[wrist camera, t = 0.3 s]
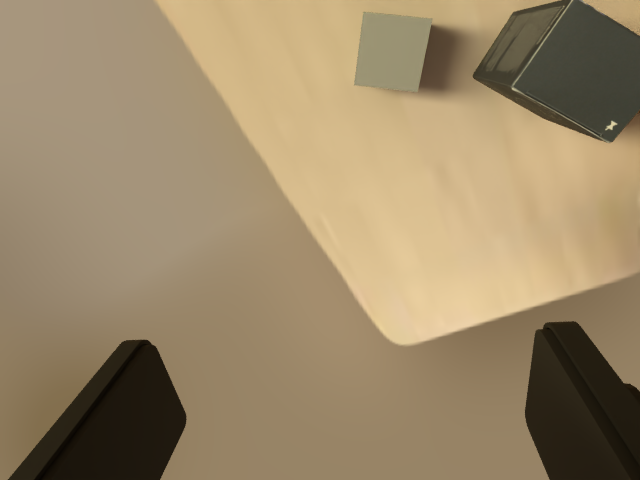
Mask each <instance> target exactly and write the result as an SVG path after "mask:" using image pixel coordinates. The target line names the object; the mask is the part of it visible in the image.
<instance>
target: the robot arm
mask: <svg viewBox="0 0 640 480" xmlns="http://www.w3.org/2000/svg"><path fill="white" fill-rule="evenodd" d="M525 418H526V423H527V426H528V429H529V432H530V434H531V436H532V439H533V441H534V443H535V446H536V448H537V450H538V453H539V455H540V458H541V460H542V462H543V465H544V467H545V470H546V472H547V474H548V477H549V479H550V480H640V391H639V390H638V389H637V388H636V387H634V386H632V385H631V384H625V383H623V382H622V381H621V379H620V378H619V377H618V375H617V374H616V373H615V371H614V370H613V369H612V367H611V366H610V365H609V363H608V362H607V361H606V359H605V358H604V357H603V355H602V354H601V353H600V351H599V350H598V349H597V347H596V346H595V345H594V343H593V342H592V341H591V340H590V338H589V337H588V336H587V334H586V333H585V332H584V330H583V329H582V328H581V326H579V324H578V323H576V322H574V321H572V322H549V323H545V325H544V327H543V329H541V330H537V331H536V333H535V338H534V346H533V354H532V362H531V370H530V377H529V384H528V392H527V400H526V407H525ZM185 424H186V413H185V411H184V408H183V406H182V404H181V402H180V399H179V397H178V395H177V393H176V390H175V388H174V386H173V384H172V381H171V379H170V377H169V375H168V372H167V370H166V368H165V366H164V364H163V361H162V359H161V357H160V354H159V352H158V350H157V348H156V347H155V346H154V345H152V344H151V343H150V342H149V341H148V340H126V341H124V342H122V343H121V344H120V345H119V346H118V347H117V349H116V350H115V351H114V352H113V353H112V355H111V356H110V357H109V358H108V359H107V361H106V362H105V363H104V365H102V367H101V368H100V369H99V370H98V372H97V373H96V374H95V375H94V376H93V378H92V379H91V380H90V381H89V383H88V384H87V385H86V386H85V387H84V388H83V390H82V391H81V392H80V393H79V394H78V396H77V397H76V398H75V399H74V401H73V402H72V403H71V404H70V405H69V407H68V408H67V409H66V410H65V412H64V413H63V414H62V415H61V416H60V417H59V419H58V420H57V421H56V422H55V424H54V425H53V426H52V427H51V428H50V430H49V431H48V432H47V433H46V434H45V436H44V437H43V438H42V439H41V440H40V442H39V443H38V444H37V445H36V447H35V448H34V449H33V450H32V451H31V453H30V454H29V455H28V456H27V458H26V459H25V460H24V461H23V462H22V463H21V465H20V466H19V467H18V468H17V470H16V471H15V472H14V473H13V474H12V476H11V477H10V478H9V479H8V480H160V478H161V476H162V474H163V472H164V470H165V468H166V466H167V464H168V461H169V460H170V457H171V455H172V453H173V451H174V449H175V447H176V445H177V443H178V441H179V439H180V436H181V434H182V432H183V430H184V428H185Z"/></svg>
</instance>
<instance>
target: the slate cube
mask: <svg viewBox="0 0 640 480" xmlns="http://www.w3.org/2000/svg"><path fill="white" fill-rule="evenodd" d="M431 23H432V19H431V18H421V17H411V16H401V15H391V14H381V13H371V12H363V19H362V27H361V35H360V43H359V51H358V59H357V67H356V75H355V83H354V85H356V86H365V87H374V88H383V89H392V90H401V91H410V92H418V88H419V83H420V78H421V73H422V68H423V63H424V58H425V53H426V48H427V43H428V38H429V33H430V28H431Z"/></svg>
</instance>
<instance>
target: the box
mask: <svg viewBox="0 0 640 480" xmlns="http://www.w3.org/2000/svg"><path fill="white" fill-rule="evenodd" d="M473 78H474V79H476V80H477V81H479V82H481V83H482V84H484V85H486V86H487V87H489V88H491V89H493V90H494V91H496V92H498V93H500V94H501V95H503V96H505V97H507V98H508V99H510V100H512V101H514V102H515V103H517V104H519V105H521V106H522V107H524V108H526V109H528V110H529V111H531V112H533V113H535V114H536V115H538V116H540V117H542V118H544V119H546V120H548V121H551V122H554V123H556V124H559V125H562V126H564V127H567V128H569V129H572V130H575V131H577V132H580V133H583V134H585V135H588V136H590V137H593V138H596V139H598V140H601V141H604V142H607V143H610V142H613V141H614V140H615V138H616V137H617V136H618V134H619V133H620V132H621V131H622V130H623V129H624V127H625V126H626V125H627V124H628V123H629V122H630V121H631V119H632V118H633V117H634V116H635V115H636V114H637V113H638V111H639V110H640V36H639V35H637V34H636V33H634V32H632V31H631V30H629V29H628V28H626V27H624V26H623V25H621V24H619V23H618V22H616V21H614V20H613V19H611V18H610V17H608V16H606V15H604V14H603V13H601V12H600V11H598V10H596V9H595V8H593V7H592V6H590V5H588V4H587V3H585V2H584V1H582V0H561V1H557V2H553V3H548V4H544V5H540V6H536V7H532V8H528V9H524V10H520V11H516V12H513V14H512V15H511V17H510V18H509V20H508V21H507V23H506V24H505V26H504V28H503V29H502V31H501V32H500V34H499V35H498V37H497V38H496V40H495V41H494V43H493V45H492V46H491V48H490V49H489V51H488V52H487V54H486V55H485V57H484V59H483V60H482V62H481V63H480V65H479V66H478V68H477V69H476V71H475V72H474V74H473Z"/></svg>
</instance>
